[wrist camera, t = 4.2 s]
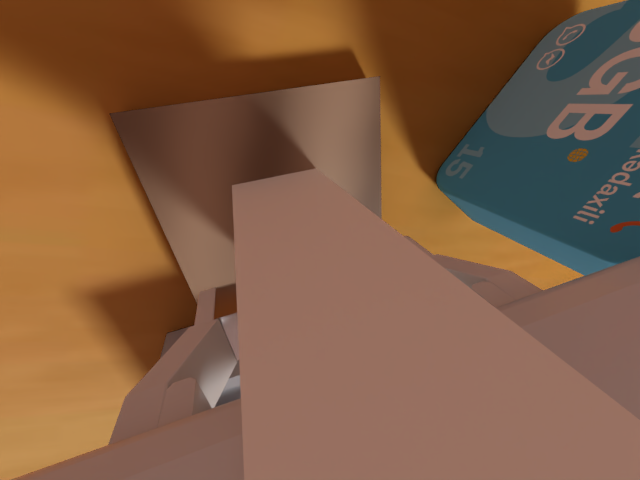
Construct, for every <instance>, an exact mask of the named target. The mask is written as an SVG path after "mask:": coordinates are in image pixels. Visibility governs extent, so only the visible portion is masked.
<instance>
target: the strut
mask: <svg viewBox="0 0 640 480" xmlns="http://www.w3.org/2000/svg"><path fill="white" fill-rule="evenodd" d="M232 200H233V224H234V248H235V271H236V295H237V319H238V342H239V366H240V390H241V414H242V437H243V461H244V480H640V420H639V419H638V418H637V417H635V416H634V415H633V414H632V413H630V412H629V411H628V410H626V409H625V408H624V407H622V406H621V405H620V404H619V403H617V402H616V401H615V400H613V399H612V398H611V397H610V396H608V395H607V394H606V393H604V392H603V391H602V390H601V389H599V388H598V387H597V386H595V385H594V384H593V383H592V382H590V381H589V380H588V379H586V378H585V377H584V376H583V375H581V374H580V373H579V372H577V371H576V370H575V369H574V368H572V367H571V366H570V365H568V364H567V363H566V362H565V361H563V360H562V359H561V358H559V357H558V356H557V355H556V354H554V353H553V352H552V351H550V350H549V349H548V348H547V347H545V346H544V345H543V344H541V343H540V342H539V341H538V340H536V339H535V338H534V337H532V336H531V335H530V334H529V333H527V332H526V331H525V330H523V329H522V328H521V327H520V326H518V325H517V324H516V323H514V322H513V321H512V320H511V319H509V318H508V317H507V316H505V315H504V314H503V313H501V312H500V311H499V310H498V309H496V308H495V307H494V306H492V305H491V304H490V303H489V302H487V301H486V300H485V299H483V298H482V297H481V296H480V295H478V294H477V293H476V292H474V291H473V290H472V289H471V288H469V287H468V286H467V285H465V284H464V283H463V282H462V281H460V280H459V279H458V278H456V277H455V276H454V275H453V274H451V273H450V272H449V271H447V270H446V269H445V268H444V267H442V266H441V265H440V264H438V263H437V262H436V261H435V260H433V259H432V258H431V257H429V256H428V255H427V254H426V253H424V252H423V251H422V250H420V249H419V248H418V247H417V246H415V245H414V244H413V243H411V242H410V241H409V240H408V239H406V238H405V237H404V236H402V235H401V234H400V233H399V232H397V231H396V230H395V229H393V228H392V227H391V226H390V225H388V224H387V223H386V222H384V221H383V220H382V219H381V218H379V217H378V216H377V215H375V214H374V213H373V212H371V211H370V210H369V209H368V208H366V207H365V206H364V205H362V204H361V203H360V202H359V201H357V200H356V199H355V198H353V197H352V196H351V195H350V194H348V193H347V192H346V191H344V190H343V189H342V188H341V187H339V186H338V185H337V184H335V183H334V182H333V181H332V180H330V179H329V178H328V177H326V176H325V175H324V174H323V173H321V172H320V171H319V170H317V169H316V168H315V169H310V170H305V171H300V172H295V173H290V174H285V175H280V176H275V177H270V178H266V179H261V180H256V181H251V182H246V183H241V184H236V185H232Z"/></svg>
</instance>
